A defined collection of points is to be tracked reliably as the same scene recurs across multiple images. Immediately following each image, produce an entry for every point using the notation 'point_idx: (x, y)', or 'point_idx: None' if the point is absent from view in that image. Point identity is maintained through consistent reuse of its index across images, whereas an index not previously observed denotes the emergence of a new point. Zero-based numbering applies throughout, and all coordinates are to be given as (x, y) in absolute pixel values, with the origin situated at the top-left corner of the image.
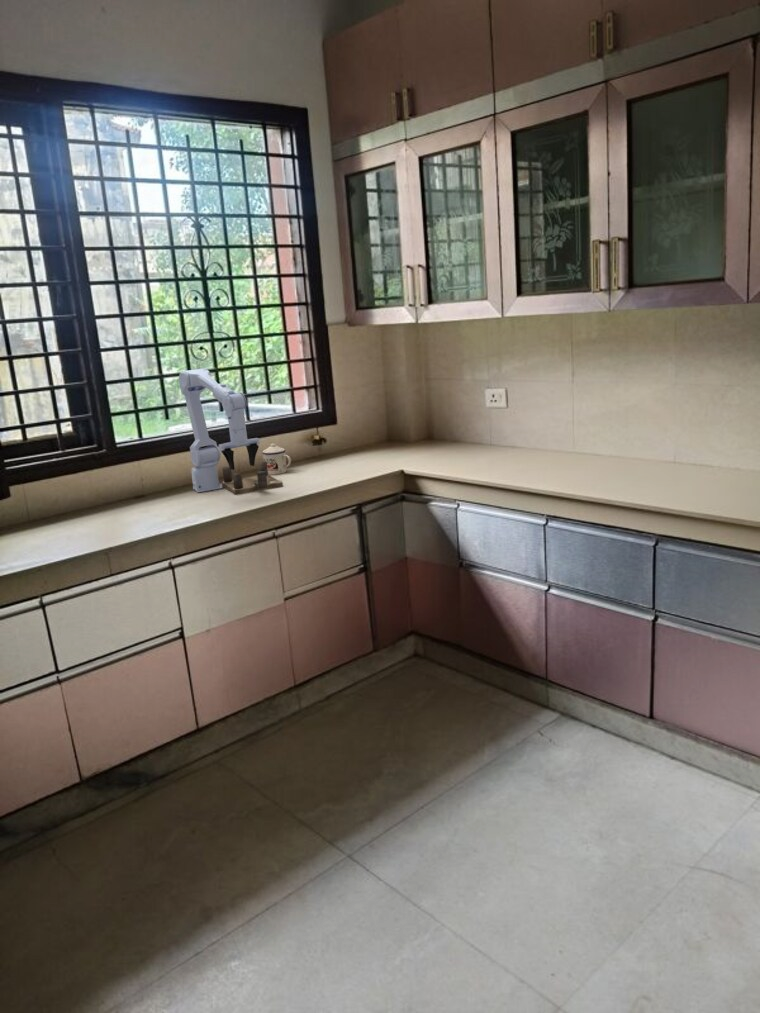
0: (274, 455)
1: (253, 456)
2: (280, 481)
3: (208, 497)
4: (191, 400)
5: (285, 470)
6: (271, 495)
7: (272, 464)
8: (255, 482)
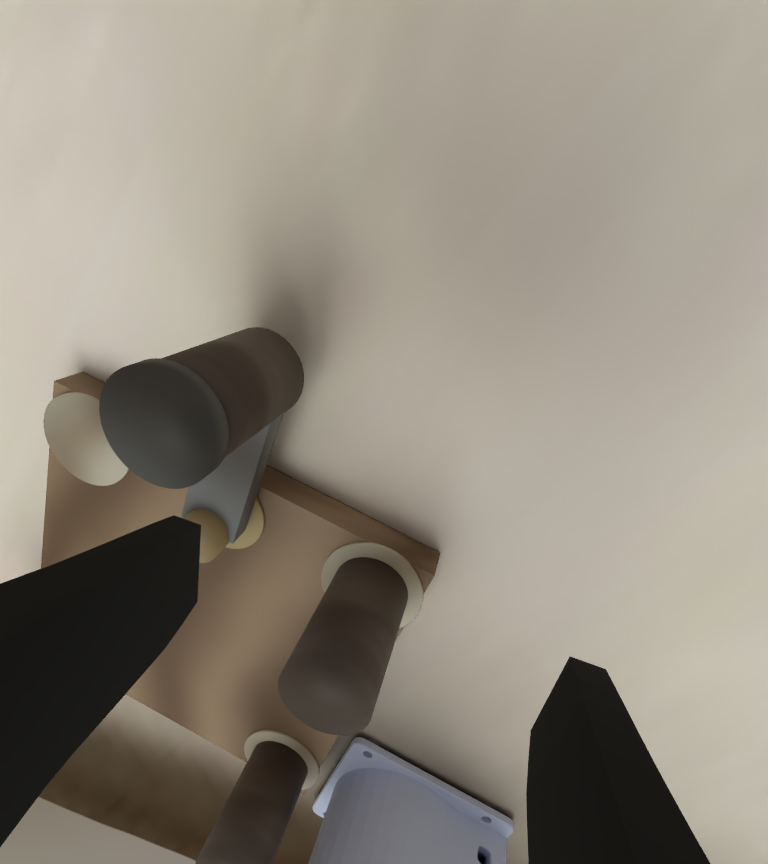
0: None
1: (9, 619)
2: (55, 411)
3: None
4: None
5: None
6: (304, 204)
7: None
8: (234, 518)
